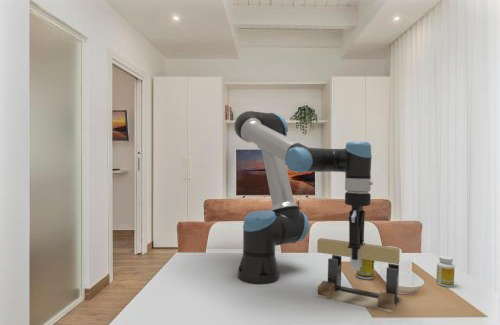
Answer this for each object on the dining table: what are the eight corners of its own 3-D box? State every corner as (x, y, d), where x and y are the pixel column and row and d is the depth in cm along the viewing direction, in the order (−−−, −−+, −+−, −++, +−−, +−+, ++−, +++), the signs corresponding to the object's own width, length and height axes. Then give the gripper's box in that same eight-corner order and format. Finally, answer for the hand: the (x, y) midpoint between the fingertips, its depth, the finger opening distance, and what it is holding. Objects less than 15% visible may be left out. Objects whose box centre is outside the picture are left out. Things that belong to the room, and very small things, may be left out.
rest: (317, 296, 107) (317, 286, 107) (323, 289, 114) (323, 280, 114) (392, 312, 97) (392, 302, 97) (394, 303, 103) (395, 293, 103)
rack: (325, 290, 113) (326, 258, 113) (330, 284, 118) (331, 254, 118) (398, 304, 102) (399, 270, 102) (399, 297, 108) (400, 265, 107)
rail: (317, 252, 109) (317, 239, 109) (320, 250, 112) (320, 238, 112) (398, 264, 98) (398, 250, 98) (399, 261, 101) (399, 248, 101)
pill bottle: (374, 280, 122) (375, 250, 122) (357, 279, 124) (357, 248, 124) (372, 275, 129) (373, 245, 128) (355, 273, 130) (355, 244, 130)
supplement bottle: (432, 282, 122) (433, 255, 121) (444, 281, 123) (444, 254, 123) (446, 288, 117) (447, 260, 116) (457, 286, 118) (458, 258, 118)
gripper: (365, 195, 96) (364, 278, 96) (374, 190, 110) (373, 263, 110) (339, 193, 100) (337, 273, 100) (350, 189, 114) (349, 259, 114)
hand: (356, 267), depth 105 cm, fingers closed on rail, 3 cm apart
